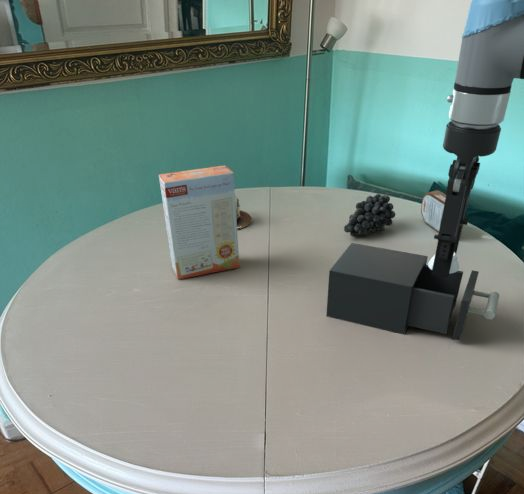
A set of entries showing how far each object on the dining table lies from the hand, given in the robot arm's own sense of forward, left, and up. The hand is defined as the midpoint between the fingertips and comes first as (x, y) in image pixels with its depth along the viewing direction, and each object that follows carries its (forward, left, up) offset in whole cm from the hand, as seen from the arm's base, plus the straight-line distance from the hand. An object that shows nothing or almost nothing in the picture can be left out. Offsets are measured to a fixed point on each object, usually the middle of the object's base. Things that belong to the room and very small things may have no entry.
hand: (443, 267), depth 88 cm
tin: (+7, -42, -11) cm, 44 cm away
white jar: (0, 0, 0) cm, 0 cm away
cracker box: (+49, -1, -11) cm, 50 cm away
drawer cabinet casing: (+11, 0, -11) cm, 16 cm away
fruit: (+23, -34, -11) cm, 43 cm away
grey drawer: (-1, 0, -10) cm, 10 cm away
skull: (+57, -26, -11) cm, 64 cm away
